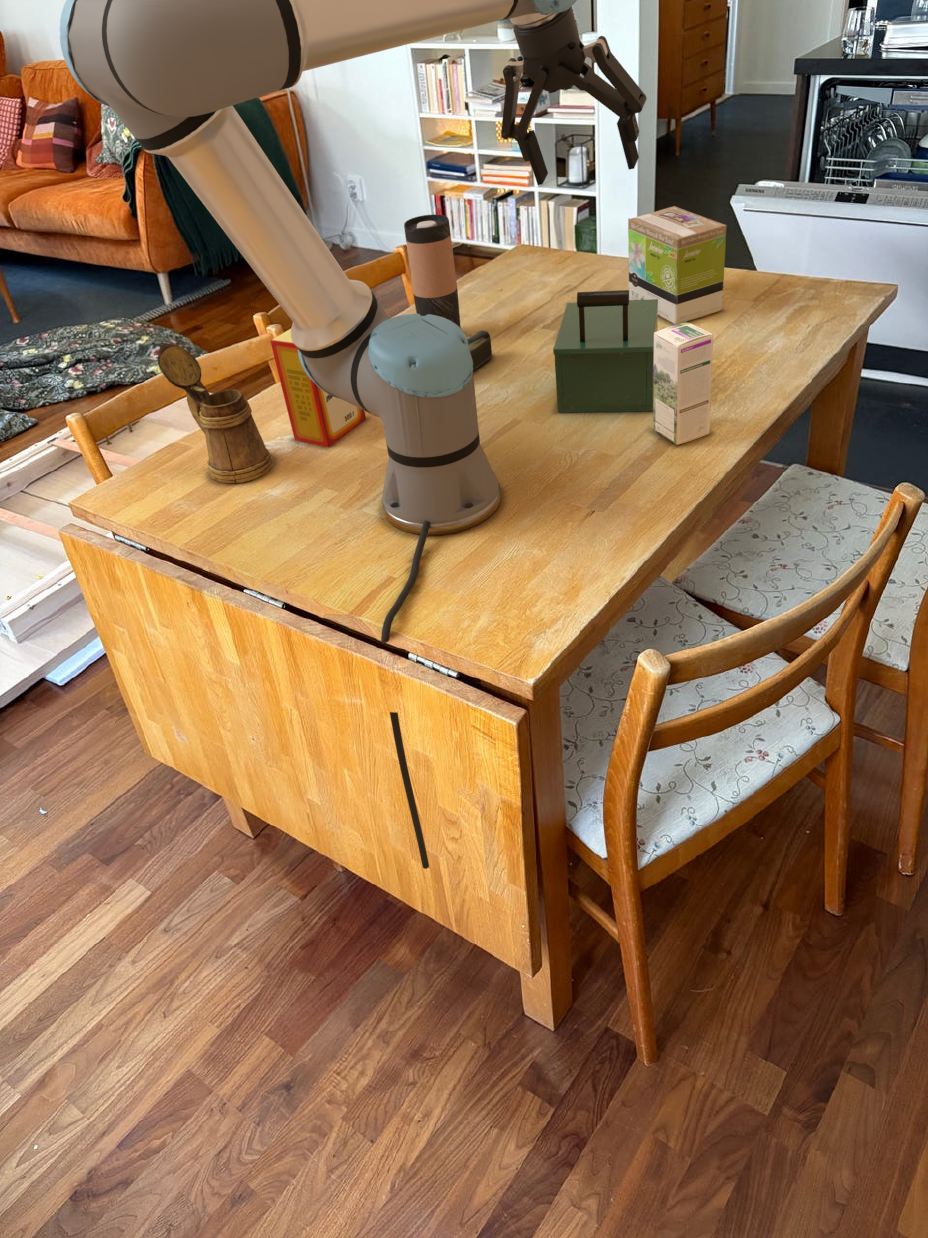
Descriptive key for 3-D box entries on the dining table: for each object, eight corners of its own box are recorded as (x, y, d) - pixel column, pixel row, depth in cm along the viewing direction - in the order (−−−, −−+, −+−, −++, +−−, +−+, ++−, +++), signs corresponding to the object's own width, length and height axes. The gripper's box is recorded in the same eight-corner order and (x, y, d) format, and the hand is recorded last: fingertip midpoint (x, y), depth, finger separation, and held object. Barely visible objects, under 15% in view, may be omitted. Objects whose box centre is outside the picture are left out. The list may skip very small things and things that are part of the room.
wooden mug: (217, 444, 146) (183, 330, 135) (285, 459, 139) (255, 340, 128) (176, 472, 140) (136, 355, 129) (245, 489, 134) (209, 367, 123)
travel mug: (464, 328, 171) (451, 212, 159) (460, 345, 165) (446, 226, 153) (422, 331, 172) (406, 216, 160) (417, 348, 167) (399, 230, 154)
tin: (652, 411, 138) (653, 349, 133) (557, 412, 141) (554, 352, 136) (657, 362, 151) (657, 304, 145) (569, 365, 154) (567, 307, 148)
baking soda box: (328, 447, 141) (305, 343, 131) (294, 440, 144) (269, 337, 134) (366, 419, 147) (346, 317, 137) (332, 412, 150) (311, 313, 140)
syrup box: (711, 434, 131) (716, 332, 122) (675, 446, 130) (678, 344, 121) (686, 418, 135) (689, 319, 126) (651, 431, 134) (652, 330, 125)
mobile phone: (478, 327, 159) (425, 360, 149) (493, 329, 157) (441, 363, 148) (481, 355, 162) (429, 390, 152) (496, 358, 160) (444, 393, 151)
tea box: (626, 301, 173) (625, 216, 164) (673, 288, 176) (675, 203, 166) (675, 326, 162) (677, 236, 153) (724, 311, 164) (729, 222, 155)
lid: (653, 351, 132) (653, 296, 127) (553, 354, 135) (550, 300, 130) (657, 303, 145) (658, 251, 141) (567, 307, 148) (564, 256, 144)
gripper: (645, -30, 114) (680, 140, 129) (463, 21, 126) (515, 170, 141) (629, 2, 110) (667, 172, 125) (443, 50, 122) (499, 200, 138)
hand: (587, 171), depth 133 cm, fingers open, 13 cm apart
